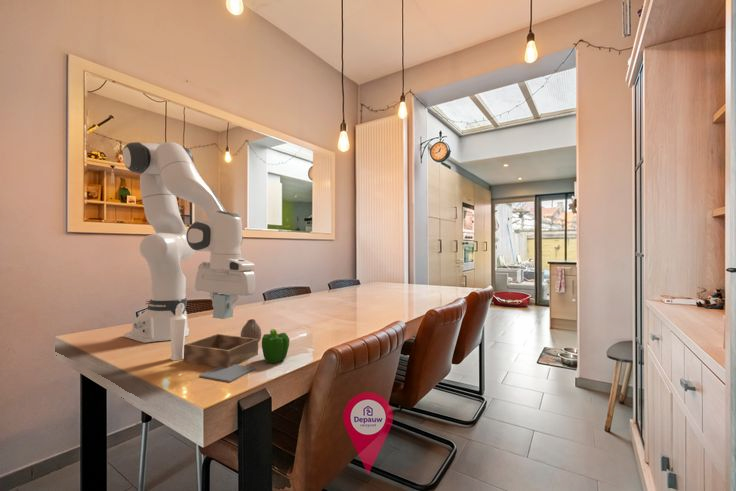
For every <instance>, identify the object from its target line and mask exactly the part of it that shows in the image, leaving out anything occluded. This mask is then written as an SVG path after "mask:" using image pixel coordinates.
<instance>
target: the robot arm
mask: <svg viewBox="0 0 736 491" xmlns="http://www.w3.org/2000/svg"><path fill="white" fill-rule="evenodd" d="M122 150H123V151H122V161H123V162H124V166H125V167H126V169H127V170H129V171H130V172H132V173H136V174H140V176H139V189H140V196H141V201H142V202H141V203H142V206H143V210H144V214H145V219H146V221H147V222H148V223H149V225H151V227H152V228H153V230H154V231H155V233H152V234H148V235H146V236H145V237H144V238H142V239H141V240H140V241H141V242H140V244H139V252H140V254H141V256H142V257H143V259H145V260H146V262H147V265H148V268H149V273H150V277H151V278H150V279H151V294H150V295H151V297H150V298H151V299H150V300H146V301H145V302H146V303H145V305H147V308H146V310H145V311H143V312H142V313H141V314H140V315H139V316H137V317H135V318H134V320H133V321H132V326H131V331H128V332H126V333H124V334H123V337H124V338H127V339H130V340H134V341H136V342H140V343H143V344H144V343H151V342H163V341H171V330H170V318H172V317H174V316H175V312H176V310H175V309H183V312H182V315H183V316H186V317H187V318H188V312H187V310H186V308H187V303H188V301H187V300H188V299H187V297H186V290H187V288H186V287H187V278H186V275H185V274H184V273H183V270H182V267H181V262H184V261H187V260H189V259H190V258H192V257H193V256H194V255H195V254H196V251H198V252H209V253H210V256H209V258H210V260H209V261H210V262H207V261H202V262H201V263H199V265H198V266H197V272H196V276H195V282H194V289H195V290H196V291H197V292H203V293H205V292H206V293H209V297H210V300H211V302H212V305H211V306H212V307H213V306H214V295H217V294H230V298H231V300H230V302H229V303H227V309H233V310H234V309H235V307H236V306H235V305H236V302H237V301H238V299H239V296H243V297H244V296H245V297H247V296H253V295H254V294H255V291H256V285H257V284H256V274H255V272H254V271H255V268H256V264H255V263H254V262H252V261H249V260H247V259H245V258H243V257H242V250H241V249H242V248H241V246H242V244H243V222H242V221H243V220H242V218H241V216H240V215H238V214H237V213H235V212H229V211H226V209H225V208H224V206H223V204H222V203H221V200H220V198H218V196H217V194H216V193H215V192H214V191H213V189H212V188H211V187H210V186H208V184H207V183H206V182H205V181H204V179H203V177H201V175H200V174H199V172H198V170H197V168H196V166H195V164H194V162H195V161H194V156H193V153H192V152H191V150H190V149H189V148H187V147H184V146H182V145H181V144H179V143H177V142H173V141H167V142H162V143H160V142H158V143H154V142H153V143H152V142H142V143H141V142H137V141H135V142H129V143H127V144H126V145H125V146H124V147H123V149H122ZM177 198H179V199H182V200H184V201H187V202H189V203H191V204H194V205H196V206H197V207H199V208H200V209H202V210H203V211H204V213H205V214H206V216H207V218H205V219H203V220H200V221H194V222H193V223H192V224H190V226H189V227H188V228H187V227H186V225H185V223H184V221H183V219H182V216H181V212H180V209H179V204H178V199H177ZM189 332H190V328H189V326H188V321H187V322H186V332H185V337H187V336H189V335H190V333H189Z"/></svg>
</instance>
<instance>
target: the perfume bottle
mask: <svg viewBox="0 0 736 491" xmlns="http://www.w3.org/2000/svg"><path fill="white" fill-rule="evenodd" d="M175 310H176V312H175V316H174V317H172V318H170V330H171V340H170V343H171V344H170V346H171V354H170V358H169V360H171V361H174V362H175V361H182V360H184V345H185V339H186V336H185V332H186V322H187V323H188V316H187V317H186V316H183V315H182V312H183V309H175Z"/></svg>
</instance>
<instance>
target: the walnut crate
mask: <svg viewBox="0 0 736 491" xmlns="http://www.w3.org/2000/svg"><path fill="white" fill-rule="evenodd" d="M183 353H184V359H183V362H184V363H189V364H195V365H201V366H207V367H212V368H213V367H214V368H216V367H219V366H221V367H227V368H228V367H230V366H232V365H234V364H236V365H240V364H242V363H244V362H246V361H248V360H249V359H251V358H254V357H256V356H258V354H259V342H258V339H254V338H246V337H241V336H237V335H229V334H220V333H216V334H213V335H210V336H208V337H204V338H201V339H198V340H195V341H191V342H189V343H186V344H185V343H184V351H183Z"/></svg>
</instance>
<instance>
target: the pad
mask: <svg viewBox="0 0 736 491" xmlns="http://www.w3.org/2000/svg"><path fill="white" fill-rule="evenodd" d="M255 370H256V367H254V366H247V365H243V364H237V365H236V364H234V365H232V366H230V367H228V368H227V367H221V366H219V367H214V368H212V369H210V370H207V371H206V372H204V373H202V374H199V375H198V377H199V378H204V379H208V380H215V381H221V382H226V383H233V382H234V381H235V380H238V379H239V378H241V377H243V376H244V375H247V374H249V373H251V372H252V371H255Z"/></svg>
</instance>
